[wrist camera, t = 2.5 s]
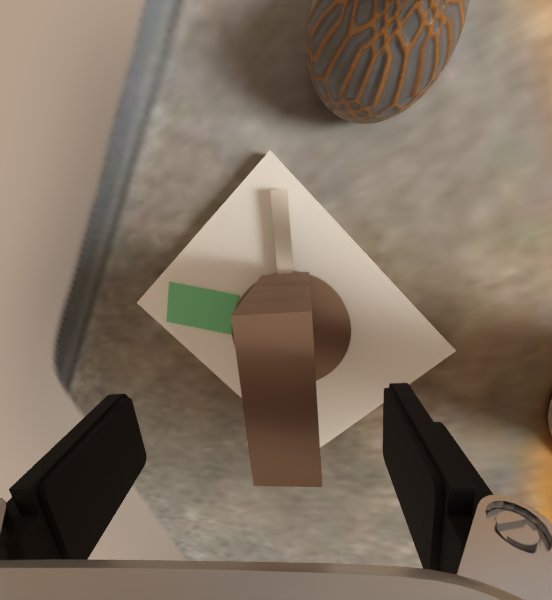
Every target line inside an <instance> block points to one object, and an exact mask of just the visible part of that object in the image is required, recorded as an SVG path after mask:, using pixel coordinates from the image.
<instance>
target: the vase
mask: <svg viewBox="0 0 552 600" xmlns="http://www.w3.org/2000/svg"><path fill="white" fill-rule="evenodd" d="M468 4H469V0H312V3H311V7H310V11H309V15H308V21H307V31H306V56H307V64H308V70H309V74H310V78H311V81H312V84H313V86H314V89H315V91H316V93H317V94H318V96H319V98H320V99H321V101H322V102H323V103H324V105H325V106H326V107H327V108H328V109H329V110H330V111H331V112H332V113H334V114H335V115H337V116H338V117H340V118H342V119H344V120H347V121H350V122H354V123H361V124H369V123H376V122H380V121H384V120H387V119H389V118H392V117H394V116H396V115H398V114H400V113H401V112H403V111H404V110H406V109H407V108H408V107H410V106H411V105H412V104H414V103H415V102H416V101H417V100H418V99H419V98H420V97H421V96H422V95H423V94H425V93H426V91H427V90H428V89H429V88H430V87H431V86H432V85H433V83H434V82H435V81H436V80H437V78H438V77H439V76H440V74H441V73H442V71H443V70H444V68H445V66H446V65H447V63H448V61H449V59H450V57H451V56H452V53H453V51H454V49H455V47H456V45H457V42H458V40H459V37H460V34H461V31H462V28H463V25H464V22H465V18H466V14H467V10H468Z"/></svg>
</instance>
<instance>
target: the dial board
mask: <svg viewBox="0 0 552 600" xmlns="http://www.w3.org/2000/svg"><path fill="white" fill-rule="evenodd" d="M281 189H288V201H289V214H290V228H291V242H292V255H293V269H294V271H296V272H309V274H310V275H313V276H315V277H318V278H319V279H321V280H323V281H325V282H326V283H327V284H329V285H330V286H331V287H332V288H333V289H334V290H335V291H336V292H337V293H338V295H339V296H340V297H341V299H342V301H343V303H344V304H345V307H346V309H347V311H348V314H349V318H350V322H351V339H350V344H349V347H348V350H347V352H346V354H345V356H344V358H343V360H342V361H341V362H340V364H339V365H338V366H337V367H336V368H335V369H334V370H333V371H332V372H331V373H329V374H328V375H326V376H325V377H323V378H321V379H319V380H317V381H316V391H317V408H318V425H319V442H320V448H321V447H322V446H324V445H325V444H326V443H328V442H329V441H331V440H332V439H333V438H335V437H336V436H338V435H339V434H340V433H342V432H343V431H345V430H346V429H347V428H349V427H350V426H352V425H353V424H354V423H356V422H357V421H359V420H360V419H361V418H363V417H364V416H366V415H367V414H368V413H370V412H371V411H373V410H374V409H375V408H377V407H378V406H380V405H381V404H383V403H384V388H389V384H390V383H408V384H411V383H412V382H413V381H415V380H416V379H418V378H419V377H420V376H422V375H423V374H425V373H426V372H427V371H429V370H430V369H432V368H433V367H434V366H436V365H437V364H439V363H440V362H441V361H443V360H444V359H446V358H447V357H448V356H450V355H451V354H453V353H454V352H455V351H456V350H455V349H454V348H453V347H452V346H451V345H450V344H449V343H448V342H447V341H446V340H445V338H444V337H443V336H442V335H441V334H440V333H439V332H438V331H437V330H436V329H435V328H434V327H433V326H432V324H431V323H430V322H429V321H428V320H427V319H426V318H425V317H424V316H423V315H422V314H421V313H420V312H419V310H418V309H417V308H416V307H415V306H414V305H413V304H412V303H411V302H410V301H409V300H408V299H407V298H406V296H405V295H404V294H403V293H402V292H401V291H400V290H399V289H398V288H397V287H396V286H395V285H394V284H393V282H392V281H391V280H390V279H389V278H388V277H387V276H386V275H385V274H384V273H383V272H382V271H381V269H380V268H379V267H378V266H377V265H376V264H375V263H374V262H373V261H372V260H371V259H370V258H369V257H368V255H367V254H366V253H365V252H364V251H363V250H362V249H361V248H360V247H359V246H358V245H357V244H356V243H355V241H354V240H353V239H352V238H351V237H350V236H349V235H348V234H347V233H346V232H345V231H344V230H343V229H342V227H341V226H340V225H339V224H338V223H337V222H336V221H335V220H334V219H333V218H332V217H331V216H330V214H329V213H328V212H327V211H326V210H325V209H324V208H323V207H322V206H321V205H320V204H319V203H318V202H317V200H316V199H315V198H314V197H313V196H312V195H311V194H310V193H309V192H308V191H307V190H306V189H305V188H304V186H303V185H302V184H301V183H300V182H299V181H298V180H297V179H296V178H295V177H294V176H293V175H292V174H291V172H290V171H289V170H288V169H287V168H286V167H285V166H284V165H283V164H282V163H281V162H280V161H279V159H278V158H277V157H276V156H275V155H274V154H273V153H272V152H271V151H269V152H268V153H267V154H266V155H265V156H264V158H263V159H262V160H261V161H260V162H259V163H258V165H257V166H256V167H255V168H254V169H253V170H252V171H251V173H250V174H249V175H248V176H247V177H246V178H245V179H244V181H243V182H242V183H241V184H240V185H239V186H238V187H237V189H236V190H235V191H234V192H233V193H232V194H231V195H230V197H229V198H228V199H227V200H226V201H225V202H224V203H223V205H222V206H221V207H220V208H219V209H218V210H217V211H216V213H215V214H214V215H213V216H212V217H211V218H210V219H209V221H208V222H207V223H206V224H205V225H204V226H203V227H202V229H201V230H200V231H199V232H198V233H197V234H196V235H195V237H194V238H193V239H192V240H191V241H190V242H189V243H188V245H187V246H186V247H185V248H184V249H183V250H182V251H181V253H180V254H179V255H178V256H177V257H176V258H175V259H174V261H173V262H172V263H171V264H170V265H169V266H168V268H167V269H166V270H165V271H164V272H163V273H162V274H161V276H160V277H159V278H158V279H157V280H156V281H155V282H154V284H153V285H152V286H151V287H150V288H149V289H148V290H147V292H146V293H145V294H144V295H143V296H142V297H141V298H140V300H139V301H138V302H137V304H139V305H140V306H141V307H142V308H143V309H144V310H145V311H146V312H147V313H148V314H150V315H151V316H152V317H153V318H154V319H155V320H156V321H157V322H158V323H159V324H161V325H162V326H163V327H164V328H165V329H166V330H167V331H168V332H169V333H170V334H172V335H173V336H174V337H175V338H176V339H177V340H178V341H179V342H180V343H181V344H183V345H184V346H185V347H186V348H187V349H188V350H189V351H190V352H191V353H192V354H193V355H195V356H196V357H197V358H198V359H199V360H200V361H201V362H202V363H203V364H204V365H206V366H207V367H208V368H209V369H210V370H211V371H212V372H213V373H214V374H215V375H217V376H218V377H219V378H220V379H221V380H222V381H223V382H224V383H225V384H226V385H228V386H229V387H230V388H231V389H232V390H233V391H234V392H235V393H236V394H237V395H239V396H240V397H241V398H242V394H241V387H240V379H239V372H238V365H237V357H236V350H235V345H234V343H233V338H232V330H231V326H232V321H231V315H232V313H233V312H234V311H235V308H236V306H237V304H238V302H239V300H240V299H241V297H242V296H243V295H244V293H245V292H246V291H247V290H248V289H249V288H250V287H251V286H252V285H253V284H254V283H256V282H257V281H258V280H259V278H260V277H261V276H262V275H271V274H274V273H278V272H277V261H276V250H275V239H274V227H273V216H272V205H271V193H270V191H271V190H281Z"/></svg>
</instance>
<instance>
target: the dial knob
mask: <svg viewBox="0 0 552 600" xmlns="http://www.w3.org/2000/svg"><path fill="white" fill-rule="evenodd" d="M270 193H271V205H272V216H273V227H274V239H275V250H276V261H277V272H278V273H274V274H271V275H262V276H261V277H260V278H259V280H258V281H257V282H256V283H254V284H253V285H252V286H251V287H250V288H249V289H248V290H247V291H246V292H245V293H244V295H243V296H242V297H241V299H240V300H239V302H238V304H237V306H236V308H235V311H234V312H233V313H232V315H231V321H232V326H231V330H232V338H233V343H234V345H235V350H236V357H237V365H238V372H239V379H240V387H241V394H242V401H243V408H244V416H245V423H246V430H247V438H248V445H249V452H250V459H251V467H252V474H253V481H254V486H297V487H322V476H321V459H320V442H319V425H318V408H317V391H316V381H317V380H319V379H321V378H323V377H325V376H326V375H328V374H329V373H331V372H332V371H333V370H334V369H335V368H336V367H337V366H338V365H339V364H340V362H341V361H342V360H343V358H344V356H345V354H346V352H347V350H348V347H349V344H350V339H351V322H350V318H349V314H348V311H347V309H346V307H345V304H344V303H343V301H342V299H341V297H340V296H339V295H338V293H337V292H336V291H335V290H334V289H333V288H332V287H331V286H330V285H329V284H327V283H326V282H325V281H323V280H321V279H319V278H318V277H315V276H313V275H310V274H309V272H296V271H294V269H293V255H292V242H291V228H290V214H289V201H288V189H281V190H271V191H270Z"/></svg>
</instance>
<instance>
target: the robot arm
mask: <svg viewBox="0 0 552 600" xmlns="http://www.w3.org/2000/svg"><path fill="white" fill-rule="evenodd" d="M548 423H549V430H550V433H551V436H552V398H551V401H550V405H549V412H548ZM383 456H384V460H385V464H386V466H387V469H388V472H389V475H390V477H391V480H392V483H393V486H394V489H395V491H396V494H397V497H398V500H399V502H400V505H401V508H402V511H403V514H404V516H405V519H406V522H407V525H408V527H409V530H410V533H411V536H412V538H413V541H414V544H415V547H416V550H417V552H418V555H419V558H420V561H421V563H422V566H423V569H420V568H410V567H399V566H380V565H355V564H330V563H282V562H233V561H163V560H87V559H88V557H89V556H90V554H91V552H92V551H93V549H94V548H95V546H96V544H97V543H98V541H99V539H100V538H101V536H102V534H103V533H104V531H105V529H106V528H107V526H108V525H109V523H110V521H111V520H112V518H113V516H114V515H115V513H116V511H117V510H118V508H119V507H120V505H121V503H122V502H123V500H124V498H125V497H126V495H127V493H128V492H129V490H130V489H131V487H132V485H133V484H134V482H135V480H136V479H137V477H138V475H139V474H140V472H141V470H142V469H143V467H144V465H145V463H146V452H145V448H144V444H143V441H142V437H141V433H140V429H139V425H138V421H137V418H136V414H135V410H134V406H133V402H132V400H131V398H128V396H127V395H126V394H112V395H108V396H107V397H106V398H105V399H103V400H102V401H101V402H100V403H99V404H98V405H97V406H96V407H95V408H94V409H93V410H92V411H91V412H90V413H89V414H88V415H87V416H86V417H84V418H83V419H82V420H81V421H80V422H79V423H78V424H77V425H76V426H75V427H74V428H73V429H72V430H71V431H70V432H69V433H68V434H67V435H66V436H65V437H64V438H63V439H61V440H60V441H59V442H58V443H57V444H56V445H55V446H54V447H53V448H52V449H51V450H50V451H49V452H48V453H47V454H46V455H44V456H43V457H42V458H41V459H40V460H39V461H38V462H37V463H36V464H35V465H34V466H33V467H32V468H31V469H30V470H29V471H28V472H27V473H26V474H24V475H23V476H22V477H21V478H20V479H19V480H18V481H17V482H16V483H15V484H14V485H13V486H12V487H11V488H10V489H9V491H10V493H11V495H12V498H11V499H10V500H9V501H8V502H7V503H6V501H5V500H3V499H2V498H0V600H552V524H551V523H550V522H549V521H548V520H547V518H546V517H545V516H543V515H542V514H541V513H539V512H538V511H537V510H536V509H534V508H533V507H531V506H529V505H527V504H526V503H524V502H522V501H520V500H517V499H514V498H512V497H509V496H503V495H493V493H492V492H491V491H490V489H489V488H488V486H487V485H486V484H485V482H484V481H483V479H482V478H481V477H480V475H479V474H478V472H477V471H476V469H475V468H474V467H473V465H472V464H471V462H470V461H469V460H468V458H467V457H466V455H465V454H464V452H463V451H462V450H461V448H460V447H459V445H458V444H457V443H456V441H455V440H454V438H453V437H452V436H451V434H450V433H449V431H448V430H447V428H446V427H445V426H444V425H443V424H442V423H441V422H433V420H432V419H431V417H430V416H429V414H428V413H427V411H426V410H425V408H424V407H423V405H422V404H421V402H420V401H419V399H418V398H417V396H416V395H415V393H414V392H413V390H412V389H411V387H410V386H409V384H408V383H390V384H389V388H384V405H383Z"/></svg>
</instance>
